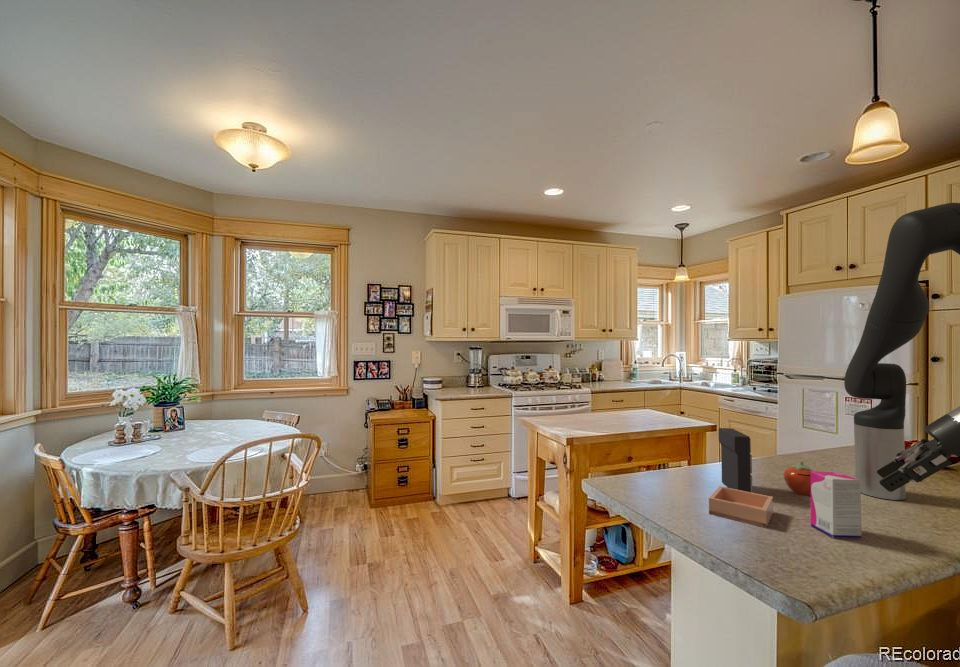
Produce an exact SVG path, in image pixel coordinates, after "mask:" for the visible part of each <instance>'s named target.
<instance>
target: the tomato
mask: <svg viewBox="0 0 960 667" xmlns="http://www.w3.org/2000/svg"><path fill="white" fill-rule="evenodd" d="M811 471H814V470H813V469H811V468H810V467H809V466H808V465H806V464H804V462H803V461H802V460H799V461H798V463H797V464H792V465H791V466H789V467H787V468H785V470H784V471H783V474H782V475H783V476H782V477H783V479H784V482H785V484H786V485H787V487H788V488H789V489H790V490H791V491H792V492H793V493H795V494H798V495H803V496H811V473H810V472H811Z"/></svg>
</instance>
